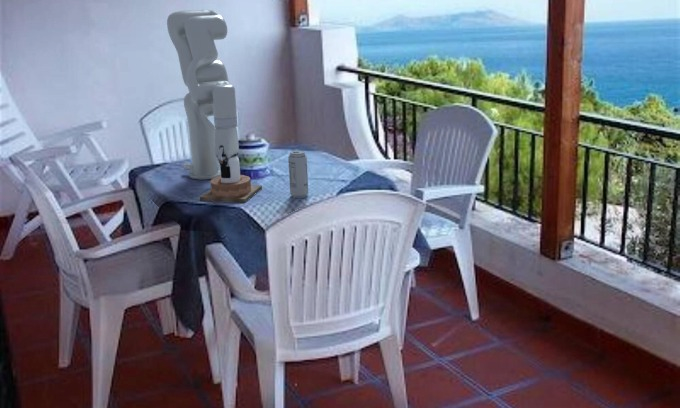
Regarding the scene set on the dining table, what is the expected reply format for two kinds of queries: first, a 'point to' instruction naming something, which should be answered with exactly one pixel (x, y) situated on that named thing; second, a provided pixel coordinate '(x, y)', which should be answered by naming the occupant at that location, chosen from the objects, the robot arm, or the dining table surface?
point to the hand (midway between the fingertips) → (229, 174)
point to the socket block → (231, 190)
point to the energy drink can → (298, 174)
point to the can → (232, 170)
